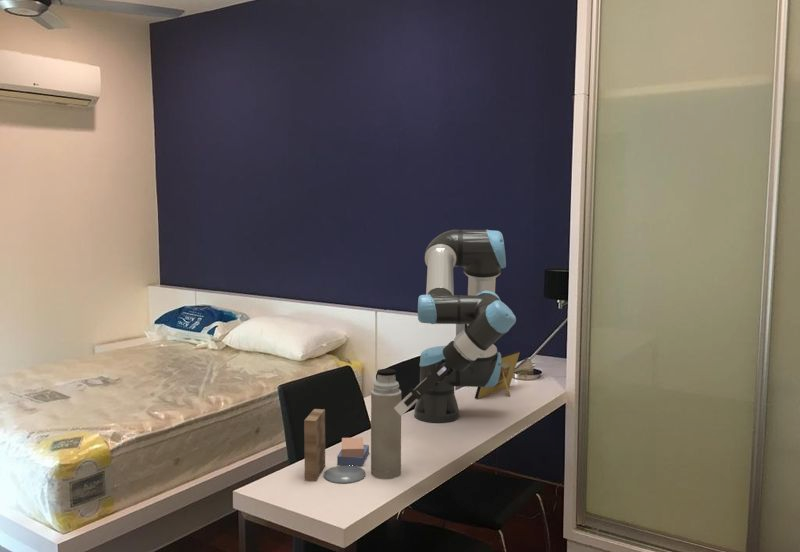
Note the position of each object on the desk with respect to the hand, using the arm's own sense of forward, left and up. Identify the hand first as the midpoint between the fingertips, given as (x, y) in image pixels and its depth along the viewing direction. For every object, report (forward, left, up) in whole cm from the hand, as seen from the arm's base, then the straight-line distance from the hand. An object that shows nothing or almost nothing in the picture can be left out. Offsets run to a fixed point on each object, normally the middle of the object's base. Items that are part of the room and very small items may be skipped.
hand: (405, 404), depth 178 cm
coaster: (+1, -16, -20) cm, 25 cm away
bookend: (+1, -24, -20) cm, 31 cm away
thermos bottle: (-2, -5, -20) cm, 21 cm away
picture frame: (-83, +26, -20) cm, 89 cm away
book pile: (-11, -16, -20) cm, 27 cm away
